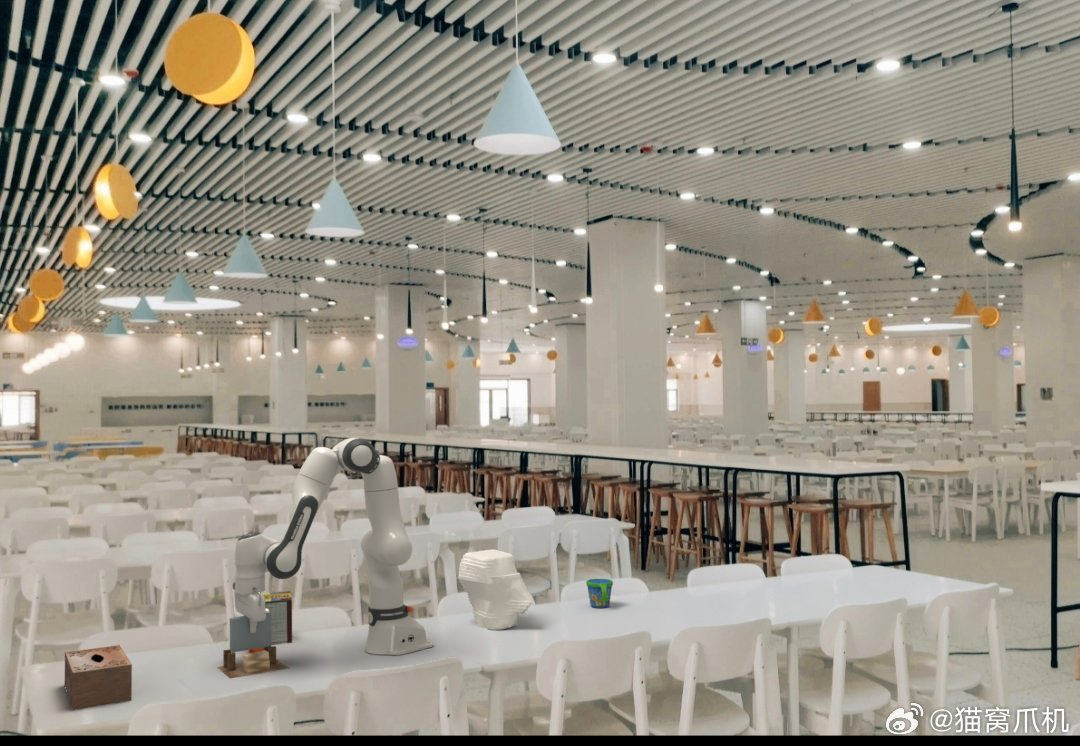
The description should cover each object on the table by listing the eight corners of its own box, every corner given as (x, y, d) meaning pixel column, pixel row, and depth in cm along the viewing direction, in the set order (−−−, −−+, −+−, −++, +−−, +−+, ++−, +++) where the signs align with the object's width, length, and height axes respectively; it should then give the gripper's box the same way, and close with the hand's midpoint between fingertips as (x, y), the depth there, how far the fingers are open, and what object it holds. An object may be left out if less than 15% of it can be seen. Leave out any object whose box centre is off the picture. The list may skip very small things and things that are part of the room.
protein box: (290, 635, 319) (290, 590, 320) (292, 645, 304) (292, 598, 305) (259, 637, 316) (259, 593, 317) (260, 648, 301) (260, 601, 302)
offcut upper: (265, 658, 275) (264, 650, 275) (268, 660, 273) (268, 652, 273) (242, 662, 271) (242, 654, 271) (246, 664, 268) (246, 656, 268)
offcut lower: (266, 666, 275) (266, 658, 275) (269, 669, 272) (269, 660, 273) (243, 670, 271) (243, 662, 271) (246, 673, 269) (246, 664, 269)
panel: (268, 644, 282) (268, 612, 283) (271, 646, 280) (271, 613, 281) (229, 651, 276) (229, 618, 276) (232, 652, 274) (231, 619, 274)
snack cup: (616, 610, 351) (615, 584, 351) (589, 611, 350) (589, 584, 350) (609, 602, 366) (609, 577, 367) (584, 603, 365) (583, 577, 366)
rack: (274, 659, 286) (274, 641, 286) (290, 670, 273) (290, 651, 274) (216, 669, 276) (216, 650, 276) (229, 681, 263) (229, 661, 264)
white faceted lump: (504, 615, 344) (503, 548, 346) (534, 630, 320) (533, 557, 321) (452, 622, 335) (451, 552, 336) (479, 637, 311) (478, 562, 312)
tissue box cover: (64, 687, 261) (64, 652, 261) (119, 678, 268) (119, 645, 269) (72, 711, 239) (72, 673, 239) (131, 701, 247) (131, 664, 247)
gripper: (270, 589, 272) (271, 635, 271) (250, 580, 289) (251, 623, 288) (249, 592, 268) (250, 639, 268) (230, 582, 285) (231, 626, 285)
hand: (250, 631), depth 278 cm, fingers closed on panel, 2 cm apart
